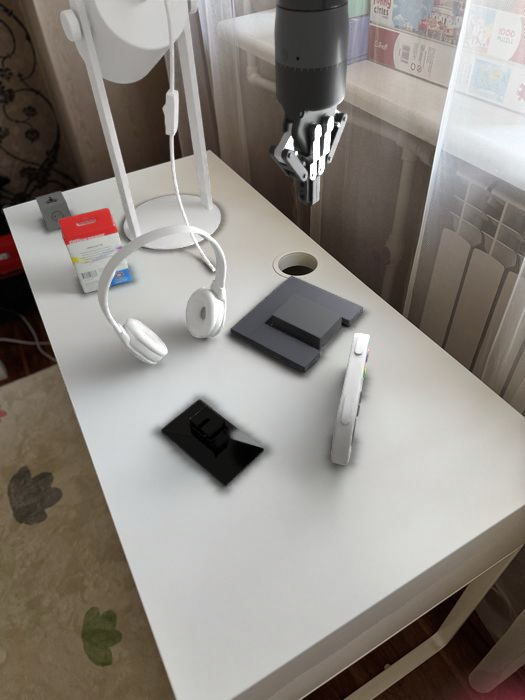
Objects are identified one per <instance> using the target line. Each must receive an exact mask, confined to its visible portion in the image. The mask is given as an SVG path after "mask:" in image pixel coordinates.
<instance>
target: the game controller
mask: <svg viewBox="0 0 525 700" xmlns="http://www.w3.org/2000/svg"><path fill="white" fill-rule="evenodd" d="M370 337H371V336H370V334H366V333H359V332H355V333H354V334H353V337H352V341H351V347H350V351H349V355H348V361H347V364H346V365H347V366H346V369H345V375H344V380H343V384H342V390H341V394H340V399H339V402H338V409H337V412H336V418H335V424H334V430H333V437H332V442H331V443H332V444H331V449H330V452H331V453H330V462H331V463H332V464H336V465H340V466H348V465H349V462H350V458H351V452H352V446H353V443H354V438H355V432H356V426H357V417H359V413H360V407H361V405H360V404H361V401H362V397H363V391H362V390H363V386H364V385H363V384H364V379H365V378H366V373H367V363H368V360H369V354H370V350H369V346H370V339H371V338H370Z"/></svg>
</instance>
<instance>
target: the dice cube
mask: <svg viewBox="0 0 525 700" xmlns="http://www.w3.org/2000/svg"><path fill="white" fill-rule="evenodd" d="M35 201H36V203H37V206H38V208H39V211H40V213H41V216H42V218H43V221H44V223H45V225H46V227H47V230H48V232H53V231H55V230H58V229H61V228H60V225H59V223H58V220H59V219H61V218H66V217H70V216H72V214H71V211H70V208H69V205H68V203H67V200H66V199H65V196H64V194H63V193H62V190H59V191H54V192H51V193H48V194H44V195H40V196H37V197H35Z"/></svg>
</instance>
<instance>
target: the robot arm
mask: <svg viewBox="0 0 525 700" xmlns="http://www.w3.org/2000/svg"><path fill="white" fill-rule="evenodd" d="M273 28H274V33H273V37H274V67H275V68H274V69H275V70H274V71H275V97H276V100H277V102H278V103H279V104H280V106H281V107H282V109H283V113H284V115H283V120H282V124H281V131H282V133H283V135H282V137H281V139H280V141H279V142H278V145H277V144H271V145H270V146H269V149H268V155H269V156H270V157H271V159H272V160H273V161H274V162H275V164H276V165H277V167H278V168H280V170H281V171H282V173H283V174H284V175H285V176H286V177H289V178H292V179H295V180H297V200H298V202H299V203H300V204H302V205H305V206H308V207H312V206H314V205H315V204H316V203H317V202H318V201H319V200H320V192H321V175H322V174H323V173H324V172H325V171H324V170H325V164H330V163H332V161H333V157H334V155H335V153H336V149H337V147H338V144H339V142H340V139H341V137H342V135H343V131H344V129H345V126H346V123H347V121H348V114H347V113H345V112H342V111H339V110H337V109H338V108H337V107H338V105H340V104H341V103H342V102H343V100H344V99H345V97H346V87H347V85H346V84H347V70H348V69H347V68H348V53H349V40H350V39H349V36H350V17H349V0H275V18H274V27H273Z"/></svg>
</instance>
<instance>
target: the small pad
mask: <svg viewBox="0 0 525 700" xmlns="http://www.w3.org/2000/svg"><path fill="white" fill-rule="evenodd" d="M341 322H342V316H341V315H339V314H337V313H335V312H332V311H330V310H328V309H326V308H324V307H322V306H319V305H317V304H315V303H313V302H311V301H308V300H306V299H304V298H302V297H300V296H297V295H295V294H294V295H293V296H291V297H290V298H289V299H288V300H287V301H286V302H285V303H284V304H283V305H282V306H280V307H279V308H278V309H277V310H276V311H275V312H274V313H273V314H272V322H271V327H273V328H275V329H277V330H279V331H281V332H283V333H285V334H287V335H289V336H291V337H293V338H295V339H297V340H299V341H301V342H303V343H305V344H307V345H309V346H311V347H313V348H315V349H317V350H319V351H321V350H322V349H323V347H325V346H326V344H328V342H329V341H330V340H331V339H332V338H333V337H334V336H335V335H336V334H337V333H338V332H339V331H340V330H341V329H342V323H341Z"/></svg>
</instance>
